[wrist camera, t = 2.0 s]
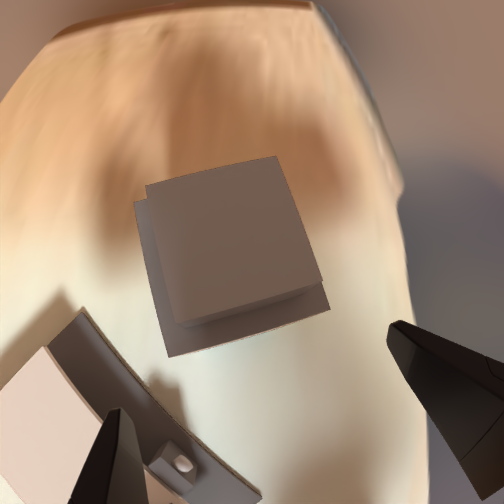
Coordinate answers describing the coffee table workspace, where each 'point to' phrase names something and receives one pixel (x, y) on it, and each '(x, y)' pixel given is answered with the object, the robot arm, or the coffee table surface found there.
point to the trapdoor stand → (145, 419)
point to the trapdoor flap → (52, 435)
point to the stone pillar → (227, 256)
